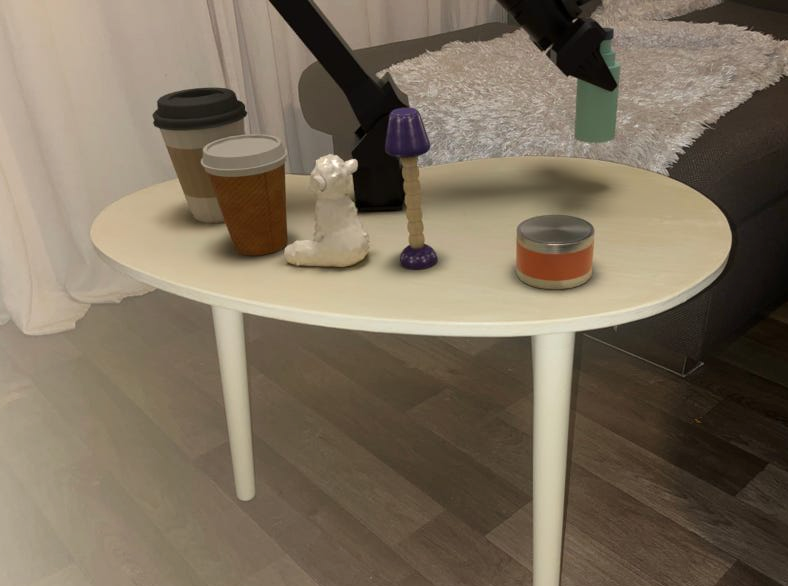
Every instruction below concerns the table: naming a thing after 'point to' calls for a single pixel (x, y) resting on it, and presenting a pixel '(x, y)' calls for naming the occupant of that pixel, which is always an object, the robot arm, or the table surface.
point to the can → (554, 251)
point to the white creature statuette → (332, 219)
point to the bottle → (598, 102)
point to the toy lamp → (411, 180)
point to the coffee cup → (198, 139)
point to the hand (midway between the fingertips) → (608, 83)
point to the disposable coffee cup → (250, 190)
